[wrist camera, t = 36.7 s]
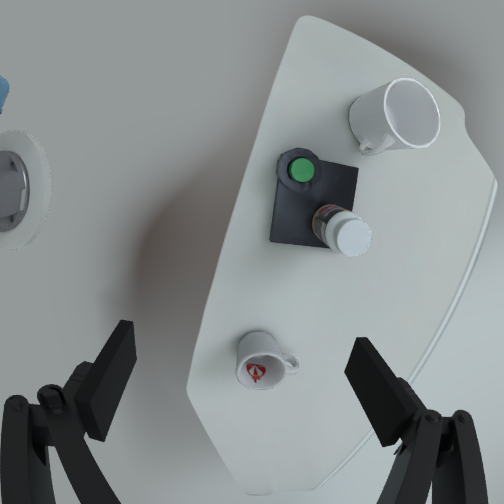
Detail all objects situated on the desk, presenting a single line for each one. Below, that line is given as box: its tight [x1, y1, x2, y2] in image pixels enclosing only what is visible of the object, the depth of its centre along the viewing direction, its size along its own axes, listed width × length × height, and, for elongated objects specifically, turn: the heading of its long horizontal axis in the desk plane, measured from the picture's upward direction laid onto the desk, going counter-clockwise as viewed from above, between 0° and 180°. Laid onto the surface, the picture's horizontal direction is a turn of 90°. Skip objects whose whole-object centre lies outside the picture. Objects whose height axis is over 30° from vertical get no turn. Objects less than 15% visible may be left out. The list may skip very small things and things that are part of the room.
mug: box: [349, 78, 441, 156], centre depth 34 cm, size 10×12×12 cm
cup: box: [236, 332, 299, 390], centre depth 45 cm, size 11×8×8 cm
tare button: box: [289, 158, 314, 182], centre depth 37 cm, size 3×3×2 cm
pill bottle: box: [312, 205, 371, 257], centre depth 37 cm, size 6×6×10 cm
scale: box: [269, 148, 359, 249], centre depth 41 cm, size 12×14×3 cm
